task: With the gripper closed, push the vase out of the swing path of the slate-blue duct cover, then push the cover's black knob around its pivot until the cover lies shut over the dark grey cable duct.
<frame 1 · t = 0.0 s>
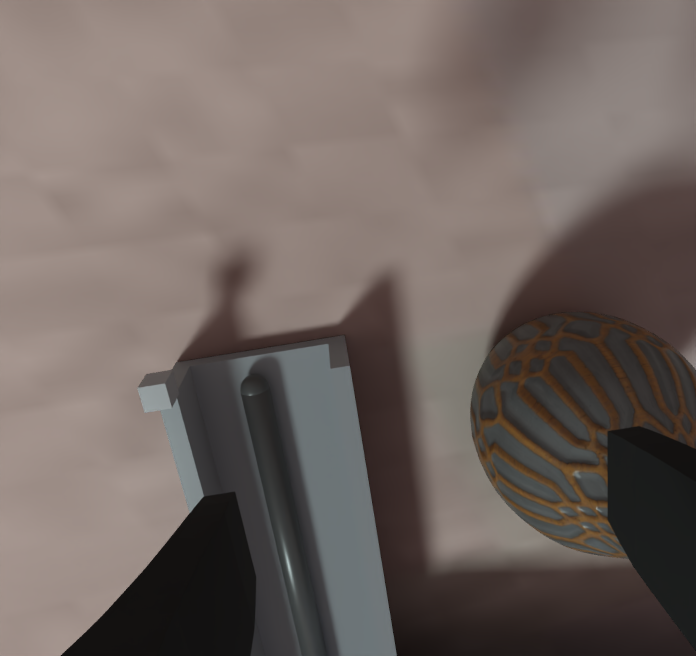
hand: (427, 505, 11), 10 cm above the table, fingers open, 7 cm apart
vase: (541, 377, 22), on the table
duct: (304, 554, 24), on the table
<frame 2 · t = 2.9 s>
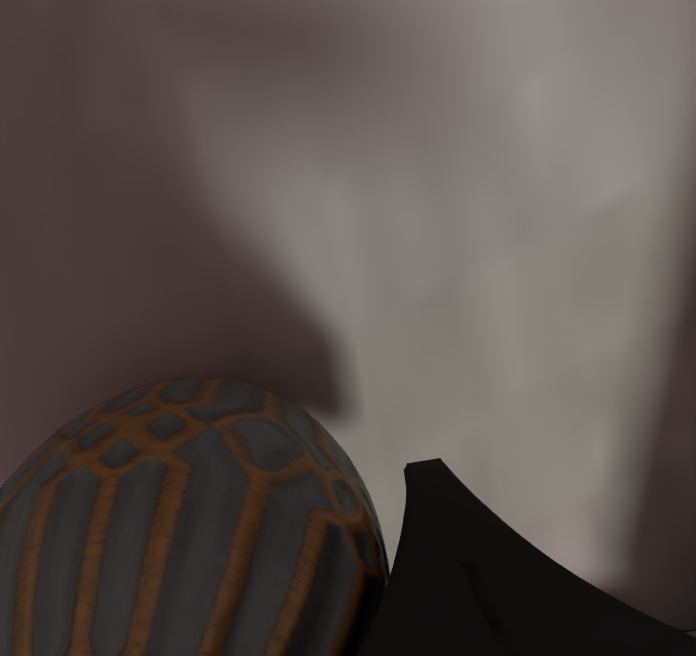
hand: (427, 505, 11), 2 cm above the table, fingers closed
vase: (220, 470, 14), on the table, touching gripper
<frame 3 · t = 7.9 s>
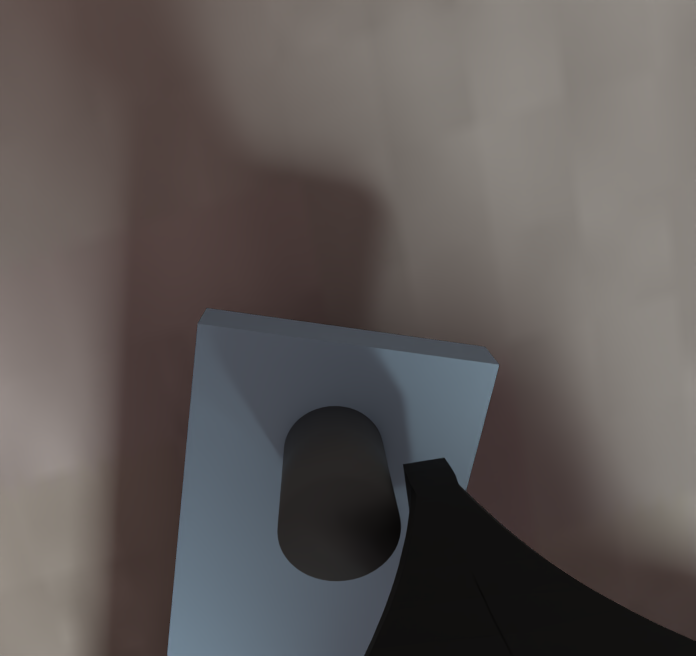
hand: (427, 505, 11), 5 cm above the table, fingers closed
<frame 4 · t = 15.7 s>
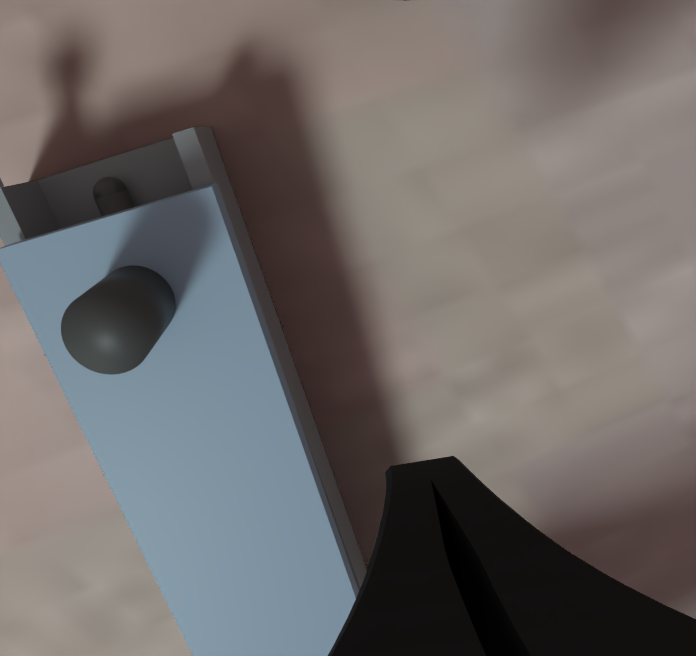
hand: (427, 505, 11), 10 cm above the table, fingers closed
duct: (220, 406, 21), on the table
cover: (232, 522, 17), point 5 cm above the table, hinge at -0.8°
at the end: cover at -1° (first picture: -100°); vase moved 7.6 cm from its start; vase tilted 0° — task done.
